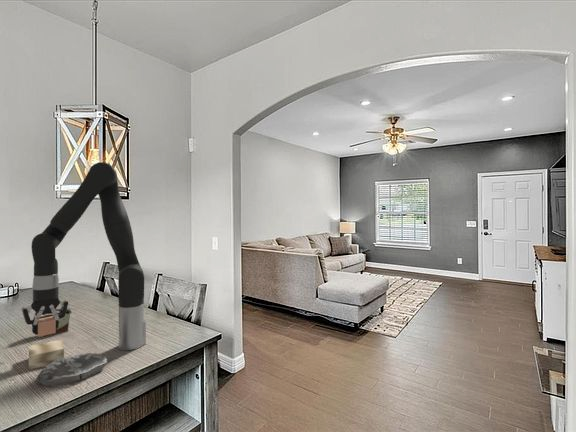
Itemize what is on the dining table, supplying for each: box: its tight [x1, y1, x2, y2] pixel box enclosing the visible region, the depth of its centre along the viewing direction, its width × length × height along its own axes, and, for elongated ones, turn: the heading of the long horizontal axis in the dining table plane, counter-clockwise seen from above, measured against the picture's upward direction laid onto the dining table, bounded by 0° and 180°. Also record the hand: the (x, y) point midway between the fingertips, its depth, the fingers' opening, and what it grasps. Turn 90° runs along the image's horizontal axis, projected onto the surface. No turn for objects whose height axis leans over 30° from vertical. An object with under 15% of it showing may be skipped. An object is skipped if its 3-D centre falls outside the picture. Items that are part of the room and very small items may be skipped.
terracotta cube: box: [36, 316, 56, 338], centre depth 115 cm, size 5×5×5 cm
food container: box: [40, 308, 73, 339], centre depth 139 cm, size 12×6×10 cm, turn 141°
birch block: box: [28, 338, 65, 370], centre depth 116 cm, size 10×10×5 cm
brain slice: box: [37, 352, 108, 388], centre depth 107 cm, size 20×17×3 cm
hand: (45, 331), depth 115 cm, fingers closed on terracotta cube, 5 cm apart
